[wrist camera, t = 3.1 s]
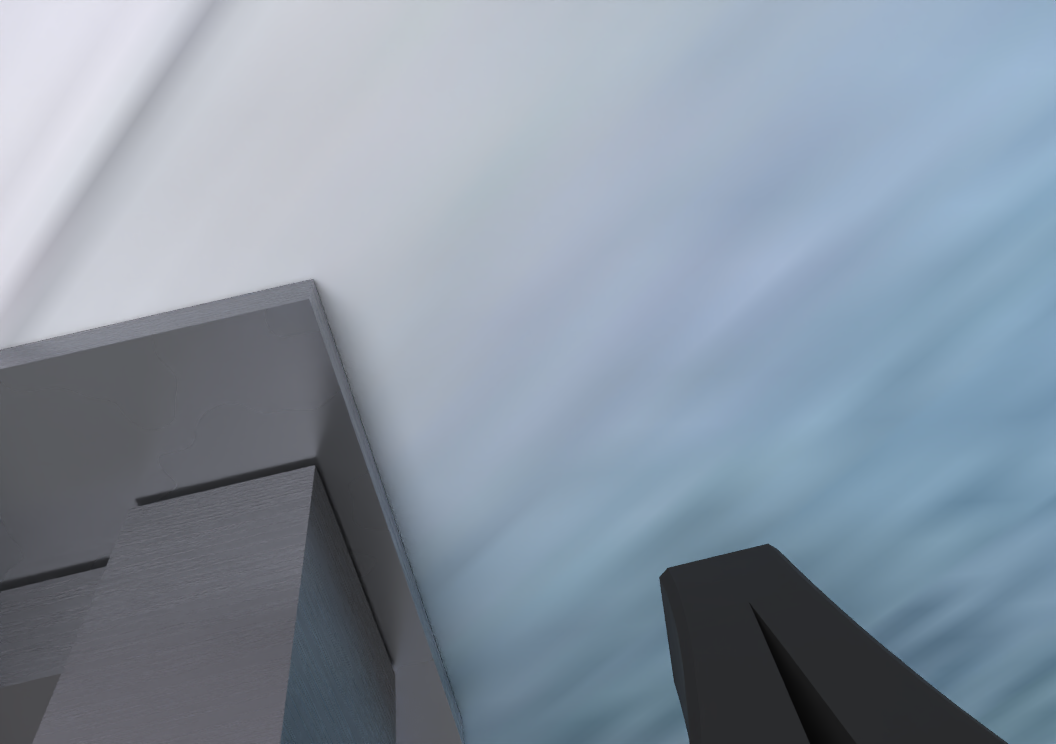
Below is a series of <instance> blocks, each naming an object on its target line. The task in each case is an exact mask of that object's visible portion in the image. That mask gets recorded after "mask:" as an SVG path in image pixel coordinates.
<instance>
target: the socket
mask: <svg viewBox="0 0 1056 744" xmlns="http://www.w3.org/2000/svg"><path fill="white" fill-rule="evenodd" d="M313 465H315V466H316V468H317V471H318V473H319V476H320V479H321V481H322V484H323V486H324V489H325V492H326V494H327V497H328V500H329V502H330V505H331V507H332V510H333V513H334V515H335V518H336V521H337V523H338V526H339V528H340V531H341V534H342V536H343V539H344V541H345V544H346V547H347V549H348V552H349V555H350V557H351V560H352V562H353V565H354V568H355V570H356V573H357V576H358V578H359V581H360V583H361V586H362V589H363V591H364V594H365V596H366V599H367V602H368V604H369V607H370V610H371V612H372V615H373V617H374V620H375V623H376V625H377V628H378V631H379V633H380V636H381V638H382V641H383V644H384V646H385V649H386V652H387V654H388V657H389V659H390V662H391V665H392V667H393V670H394V672H395V686H396V744H464V734H463V723H462V718H461V715H460V713H459V710H458V707H457V704H456V701H455V698H454V695H453V692H452V689H451V686H450V683H449V680H448V677H447V674H446V671H445V668H444V665H443V662H442V659H441V656H440V653H439V650H438V647H437V644H436V641H435V638H434V636H433V633H432V630H431V627H430V624H429V621H428V618H427V615H426V612H425V609H424V606H423V603H422V600H421V597H420V594H419V591H418V588H417V585H416V582H415V579H414V576H413V573H412V570H411V567H410V564H409V561H408V559H407V556H406V553H405V550H404V547H403V544H402V541H401V538H400V535H399V532H398V529H397V526H396V523H395V520H394V517H393V514H392V511H391V508H390V505H389V502H388V499H387V496H386V493H385V490H384V487H383V484H382V482H381V479H380V476H379V473H378V470H377V467H376V464H375V461H374V458H373V455H372V452H371V449H370V446H369V443H368V440H367V437H366V434H365V431H364V428H363V425H362V422H361V419H360V416H359V413H358V410H357V407H356V405H355V402H354V399H353V396H352V393H351V390H350V387H349V384H348V381H347V378H346V375H345V372H344V369H343V366H342V363H341V360H340V357H339V354H338V351H337V348H336V345H335V342H334V339H333V336H332V333H331V331H330V328H329V325H328V322H327V319H326V316H325V313H324V310H323V307H322V304H321V301H320V298H319V295H318V292H317V289H316V286H315V283H314V280H313V279H311V280H306V281H302V282H298V283H293V284H289V285H284V286H280V287H275V288H271V289H267V290H262V291H258V292H253V293H249V294H245V295H240V296H236V297H231V298H227V299H223V300H218V301H214V302H209V303H205V304H201V305H196V306H192V307H187V308H183V309H179V310H174V311H170V312H165V313H161V314H157V315H152V316H148V317H143V318H139V319H135V320H130V321H126V322H121V323H117V324H113V325H108V326H104V327H99V328H95V329H90V330H86V331H82V332H77V333H73V334H68V335H64V336H60V337H55V338H51V339H46V340H42V341H38V342H33V343H29V344H24V345H20V346H16V347H11V348H7V349H2V350H0V591H4V590H9V589H13V588H17V587H21V586H26V585H30V584H34V583H38V582H43V581H47V580H51V579H55V578H60V577H64V576H68V575H72V574H76V573H81V572H85V571H89V570H93V569H98V568H102V567H106V566H107V563H108V561H109V558H110V556H111V554H112V551H113V549H114V546H115V544H116V542H117V539H118V537H119V534H120V532H121V530H122V527H123V525H124V523H125V520H126V518H127V515H128V513H129V511H130V508H134V507H138V506H142V505H147V504H151V503H155V502H159V501H164V500H168V499H172V498H177V497H181V496H185V495H189V494H194V493H198V492H202V491H206V490H211V489H215V488H219V487H224V486H228V485H232V484H236V483H241V482H245V481H249V480H253V479H258V478H262V477H266V476H270V475H275V474H279V473H283V472H288V471H292V470H296V469H300V468H305V467H309V466H313Z"/></svg>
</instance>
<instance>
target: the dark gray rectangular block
mask: <svg viewBox="0 0 1056 744" xmlns="http://www.w3.org/2000/svg"><path fill="white" fill-rule="evenodd" d="M0 744H396V686H395V672H394V670H393V667H392V665H391V662H390V659H389V657H388V654H387V652H386V649H385V646H384V644H383V641H382V638H381V636H380V633H379V631H378V628H377V625H376V623H375V620H374V617H373V615H372V612H371V610H370V607H369V604H368V602H367V599H366V596H365V594H364V591H363V589H362V586H361V583H360V581H359V578H358V576H357V573H356V570H355V568H354V565H353V562H352V560H351V557H350V555H349V552H348V549H347V547H346V544H345V541H344V539H343V536H342V534H341V531H340V528H339V526H338V523H337V521H336V518H335V515H334V513H333V510H332V507H331V505H330V502H329V500H328V497H327V494H326V492H325V489H324V486H323V484H322V481H321V479H320V476H319V473H318V471H317V468H316V466H315V465H313V466H309V467H305V468H300V469H296V470H292V471H288V472H283V473H279V474H275V475H270V476H266V477H262V478H258V479H253V480H249V481H245V482H241V483H236V484H232V485H228V486H224V487H219V488H215V489H211V490H206V491H202V492H198V493H194V494H189V495H185V496H181V497H177V498H172V499H168V500H164V501H159V502H155V503H151V504H147V505H142V506H138V507H134V508H130V511H129V513H128V515H127V518H126V520H125V523H124V525H123V527H122V530H121V532H120V534H119V537H118V539H117V542H116V544H115V546H114V549H113V551H112V554H111V556H110V558H109V561H108V563H107V566H106V567H102V568H98V569H93V570H89V571H85V572H81V573H76V574H72V575H68V576H64V577H60V578H55V579H51V580H47V581H43V582H38V583H34V584H30V585H26V586H21V587H17V588H13V589H9V590H4V591H0Z"/></svg>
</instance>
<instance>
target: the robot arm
mask: <svg viewBox="0 0 1056 744" xmlns="http://www.w3.org/2000/svg"><path fill="white" fill-rule="evenodd" d="M659 579H660V586H661V593H662V600H663V607H664V614H665V621H666V628H667V635H668V642H669V649H670V656H671V663H672V671H673V678H674V683H675V686H676V690H677V693H678V696H679V700H680V704H681V707H682V711H683V715H684V719H685V723H686V728H687V732H688V736H689V740H690V744H1008V743H1007V742H1005V741H1004V740H1002V739H1001V738H1000V737H998V736H997V735H996V734H994V733H993V732H992V731H990V730H989V729H988V728H986V727H985V726H984V725H982V724H981V723H980V722H978V721H977V720H976V719H974V718H973V717H972V716H970V715H969V714H968V713H966V712H965V711H964V710H962V709H961V708H960V707H958V706H957V705H956V704H955V703H953V702H952V701H951V700H949V699H948V698H947V697H946V696H944V695H943V694H942V693H940V692H939V691H938V690H937V689H935V688H934V687H933V686H932V685H930V684H929V683H928V682H927V681H925V680H924V679H923V678H922V677H920V676H919V675H918V674H917V673H916V672H914V671H913V670H912V669H911V668H910V667H908V666H907V665H906V664H905V663H903V662H902V661H901V660H900V659H899V658H897V657H896V656H895V655H894V654H893V653H891V652H890V651H889V650H888V649H886V648H885V647H884V646H883V645H882V644H880V643H879V642H878V641H877V640H876V639H875V638H873V637H872V636H871V635H870V634H869V633H868V632H866V631H865V630H864V629H863V628H862V627H861V626H859V625H858V624H857V623H856V622H855V621H854V620H853V619H852V618H850V617H849V616H848V615H847V614H846V613H845V612H844V611H843V610H841V609H840V608H839V607H838V606H837V605H836V604H835V603H834V602H833V601H831V600H830V599H829V598H828V597H827V596H826V595H825V594H824V593H823V592H822V591H821V590H819V589H818V588H817V587H816V586H815V585H814V584H813V583H812V582H811V581H810V580H809V579H808V578H807V577H806V576H804V575H803V574H802V573H801V572H800V571H799V570H798V569H797V568H796V567H795V566H794V565H793V564H792V563H791V562H790V561H789V560H788V559H787V558H786V557H785V556H784V555H783V554H782V553H781V552H780V551H779V550H778V549H776V548H774V547H773V546H771V545H769V544H765V545H761V546H757V547H753V548H748V549H744V550H740V551H736V552H732V553H728V554H724V555H719V556H715V557H711V558H707V559H703V560H699V561H694V562H690V563H686V564H682V565H678V566H674V567H670V568H667V569H666V570H665V572H664V573H663V574H662V575H661V576H660V577H659Z"/></svg>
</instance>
